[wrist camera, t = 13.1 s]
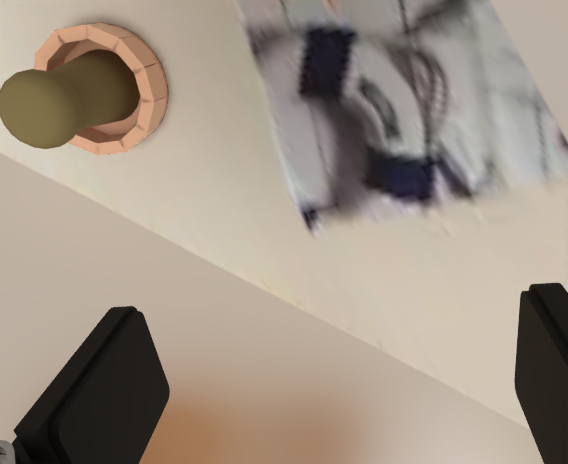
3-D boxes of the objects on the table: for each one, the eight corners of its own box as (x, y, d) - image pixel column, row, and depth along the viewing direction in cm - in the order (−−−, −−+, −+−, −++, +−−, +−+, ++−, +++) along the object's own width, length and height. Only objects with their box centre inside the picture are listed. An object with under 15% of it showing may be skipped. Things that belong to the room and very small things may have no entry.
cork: (144, 60, 38) (71, 82, 28) (136, 130, 41) (68, 171, 31) (74, 39, 38) (-23, 54, 28) (71, 110, 41) (-18, 146, 31)
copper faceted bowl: (41, 34, 39) (14, 37, 36) (149, 14, 37) (130, 15, 34) (81, 148, 44) (60, 159, 40) (180, 135, 42) (166, 146, 38)
